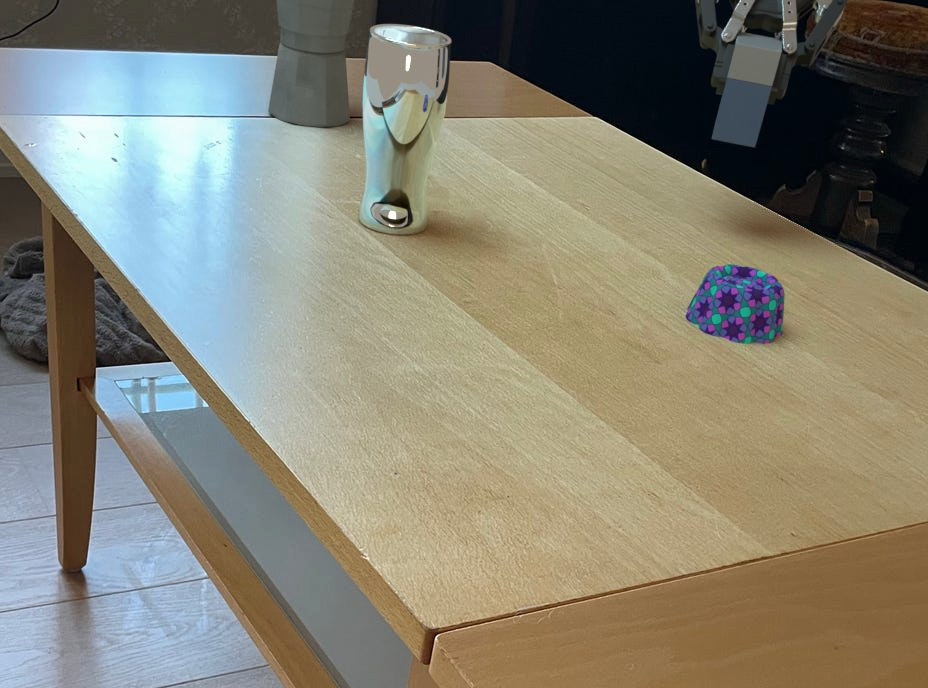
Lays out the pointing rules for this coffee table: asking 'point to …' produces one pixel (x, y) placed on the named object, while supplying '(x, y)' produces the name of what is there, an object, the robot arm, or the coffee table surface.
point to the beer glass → (401, 123)
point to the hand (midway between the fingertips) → (745, 93)
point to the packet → (747, 89)
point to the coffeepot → (312, 63)
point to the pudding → (739, 305)
